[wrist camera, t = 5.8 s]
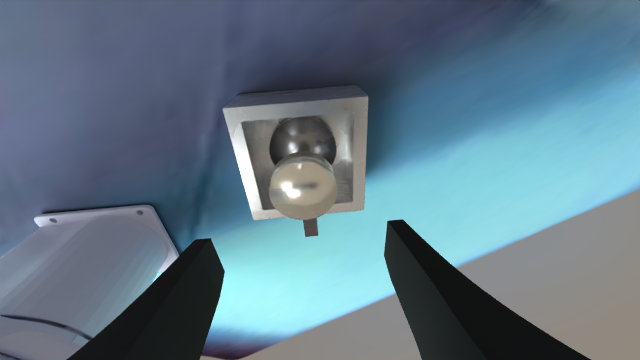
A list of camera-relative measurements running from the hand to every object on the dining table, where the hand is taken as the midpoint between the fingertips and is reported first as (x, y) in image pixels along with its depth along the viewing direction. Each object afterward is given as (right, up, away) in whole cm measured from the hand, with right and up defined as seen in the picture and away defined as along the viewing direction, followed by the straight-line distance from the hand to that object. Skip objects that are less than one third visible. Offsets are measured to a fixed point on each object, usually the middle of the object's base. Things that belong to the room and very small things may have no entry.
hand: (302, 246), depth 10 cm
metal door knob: (0, +5, +8) cm, 10 cm away
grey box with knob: (-1, +4, +9) cm, 10 cm away
